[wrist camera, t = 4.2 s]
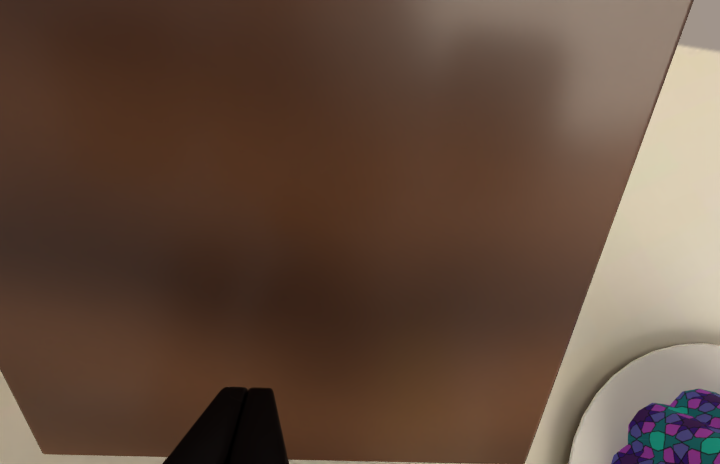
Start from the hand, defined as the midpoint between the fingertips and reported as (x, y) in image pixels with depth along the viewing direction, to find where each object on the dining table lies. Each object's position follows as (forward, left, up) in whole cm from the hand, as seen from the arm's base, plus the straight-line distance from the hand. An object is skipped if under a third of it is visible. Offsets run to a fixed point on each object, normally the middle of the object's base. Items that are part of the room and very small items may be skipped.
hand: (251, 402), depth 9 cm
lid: (+2, -2, -2) cm, 4 cm away
